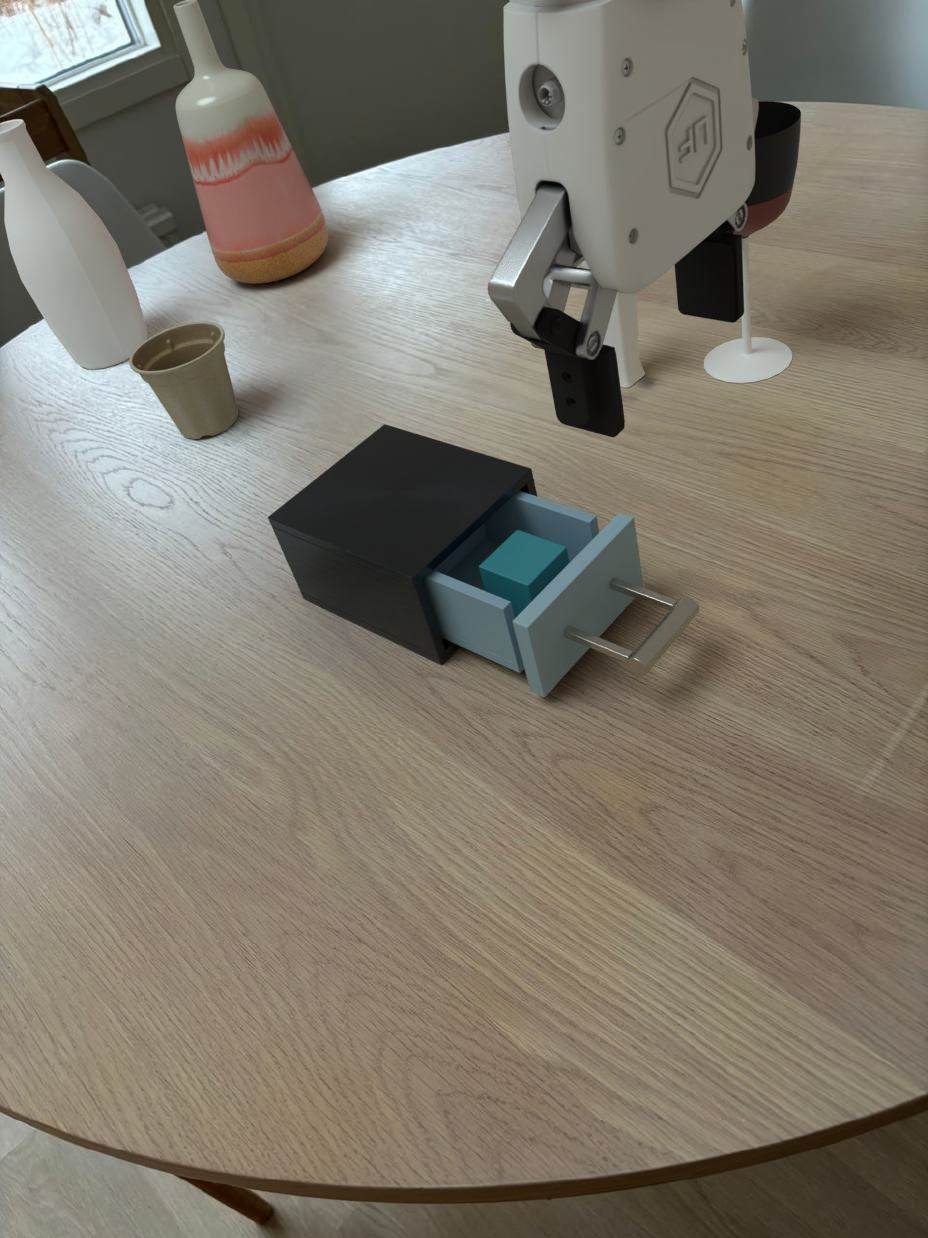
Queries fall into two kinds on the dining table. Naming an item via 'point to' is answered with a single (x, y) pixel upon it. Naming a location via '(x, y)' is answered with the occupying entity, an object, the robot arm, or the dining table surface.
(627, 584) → the drawer
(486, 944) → the dining table surface
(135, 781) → the dining table surface
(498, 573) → the teal block
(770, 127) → the wineglass
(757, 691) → the dining table surface
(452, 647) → the small black cabinet
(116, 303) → the bottle
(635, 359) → the perfume bottle
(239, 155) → the vase
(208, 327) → the flower pot
